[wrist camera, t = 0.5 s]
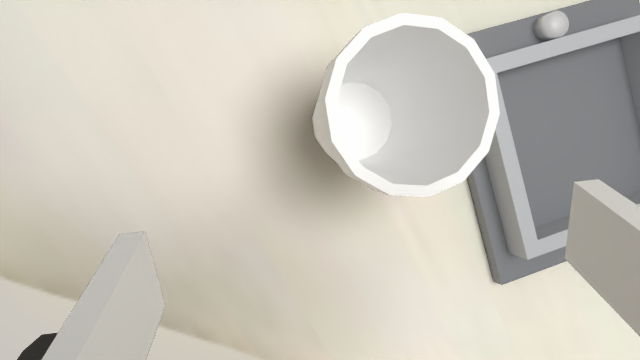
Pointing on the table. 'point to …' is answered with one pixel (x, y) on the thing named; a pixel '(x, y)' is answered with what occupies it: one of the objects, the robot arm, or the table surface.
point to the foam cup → (408, 106)
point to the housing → (556, 127)
